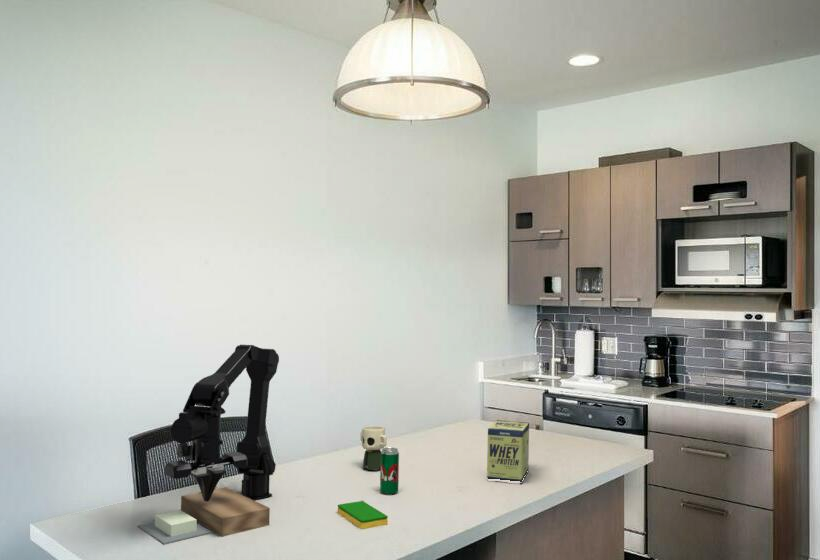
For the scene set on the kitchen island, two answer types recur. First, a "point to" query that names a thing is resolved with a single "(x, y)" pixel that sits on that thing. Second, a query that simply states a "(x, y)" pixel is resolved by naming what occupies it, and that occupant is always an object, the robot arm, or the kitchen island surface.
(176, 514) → the sage tile
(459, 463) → the kitchen island surface
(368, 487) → the kitchen island surface
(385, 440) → the character mug
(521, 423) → the protein box
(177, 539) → the slate mat
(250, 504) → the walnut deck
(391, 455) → the soda can
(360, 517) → the dish sponge
